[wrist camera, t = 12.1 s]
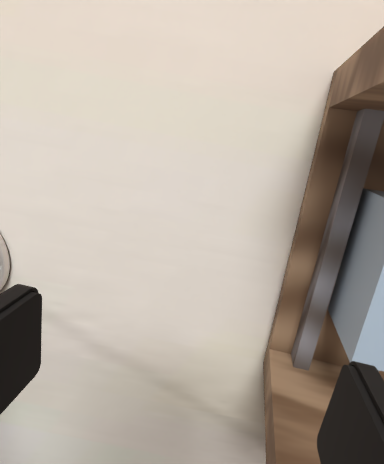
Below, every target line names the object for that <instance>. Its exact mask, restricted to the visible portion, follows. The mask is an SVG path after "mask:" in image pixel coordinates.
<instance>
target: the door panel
mask: <svg viewBox="0 0 384 464" xmlns="http://www.w3.org/2000/svg"><path fill="white" fill-rule="evenodd" d="M328 311H329V314H330V316H331V318H332V321H333V323H334V326H335V328H336V330H337V333H338V335H339V337H340V340H341V342H342V345H343V347H344V349H345V352H346V354H347V357H348V359H349V361H350V362H351V361H355V362H360V363H364V364H368V365H373V366H375V367H376V368H377V370H380V371H384V191H378V190H371V189H364V188H363V191H362V194H361V197H360V201H359V204H358V207H357V211H356V214H355V217H354V221H353V224H352V227H351V231H350V234H349V238H348V241H347V244H346V248H345V251H344V255H343V258H342V262H341V265H340V269H339V272H338V275H337V279H336V282H335V286H334V289H333V293H332V296H331V300H330V303H329V306H328Z"/></svg>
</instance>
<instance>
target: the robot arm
mask: <svg viewBox="0 0 384 464" xmlns="http://www.w3.org/2000/svg"><path fill="white" fill-rule="evenodd" d="M9 270H10V261H9V255H8V250H7V247H6V245H5V242H4V240H3V238H2V236H1V235H0V290H1V289H2V288H3V286H4V285H5V284H6V281H7V279H8V276H9ZM41 320H42V296H41V294H39V293H38V290H37V289H36V288H34V287H29V286H25V285H21V284H17V285H14V286H13V287H11V288H9V289H8V290H6V291H5V292H3V293H1V294H0V414H1V413H2V412H3V411H4V410H5V409H6V408H7V407H8V406H9V404H10V403H11V402H12V401H13V400H14V399H15V398H16V397H17V396H18V394H19V393H20V392H21V391H22V390H23V389H24V388H25V387H26V386H27V384H28V383H29V382H30V381H31V380H32V379H33V378H34V377H35V375H36V374H37V372H38V371H39V368H40V364H41ZM317 450H318V454H319V458H320V462H321V464H384V380H383V378H382V377H381V375H380V373H379V372H378V370H377V368H376V367H375V366H373V365H368V364H364V363H360V362H355V361H351V362H350V363H349V365H343V366H342V369H341V371H340V374H339V377H338V380H337V382H336V385H335V388H334V391H333V394H332V396H331V399H330V402H329V405H328V408H327V410H326V413H325V416H324V419H323V422H322V424H321V427H320V430H319V433H318V436H317Z"/></svg>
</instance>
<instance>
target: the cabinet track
mask: <svg viewBox="0 0 384 464" xmlns="http://www.w3.org/2000/svg"><path fill="white" fill-rule="evenodd" d="M363 188H364V189H371V190H378V191H384V27H383V28H382V29H381V30H379V31H378V32H377V33H376V34H375V35H374V36H373V37H372V38H371V39H370V40H368V41H367V42H366V43H365V44H364V45H363V46H362V47H361V48H360V49H359V50H358V51H356V52H355V53H354V54H353V55H352V56H351V57H350V58H349V59H348V60H347V61H345V62H344V63H343V64H342V65H341V66H340V67H339V68H338V69H337V70H336V71H334V74H333V78H332V83H331V87H330V91H329V95H328V99H327V103H326V107H325V111H324V116H323V120H322V124H321V128H320V132H319V136H318V140H317V144H316V148H315V153H314V157H313V161H312V165H311V169H310V173H309V177H308V181H307V186H306V190H305V194H304V198H303V202H302V206H301V210H300V214H299V219H298V223H297V227H296V231H295V235H294V239H293V243H292V247H291V251H290V256H289V260H288V264H287V268H286V272H285V276H284V280H283V284H282V289H281V293H280V297H279V301H278V305H277V309H276V313H275V317H274V321H273V326H272V330H271V334H270V338H269V342H268V346H267V350H266V354H265V359H264V363H263V364H264V400H265V436H266V464H321V462H320V458H319V454H318V450H317V436H318V433H319V430H320V427H321V424H322V422H323V419H324V416H325V413H326V410H327V408H328V405H329V402H330V399H331V396H332V394H333V391H334V388H335V385H336V382H337V380H338V377H339V374H340V371H341V369H342V366H343V365H349V363H350V361H349V359H348V357H347V354H346V352H345V349H344V347H343V345H342V342H341V340H340V337H339V335H338V333H337V330H336V328H335V326H334V323H333V321H332V318H331V316H330V314H329V311H328V306H329V303H330V300H331V296H332V293H333V289H334V286H335V282H336V279H337V275H338V272H339V269H340V265H341V262H342V258H343V255H344V251H345V248H346V244H347V241H348V238H349V234H350V231H351V227H352V224H353V221H354V217H355V214H356V211H357V207H358V204H359V201H360V197H361V194H362V191H363ZM378 372H379V373H380V375H381V377H382V378H383V380H384V371H380V370H378Z"/></svg>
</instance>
